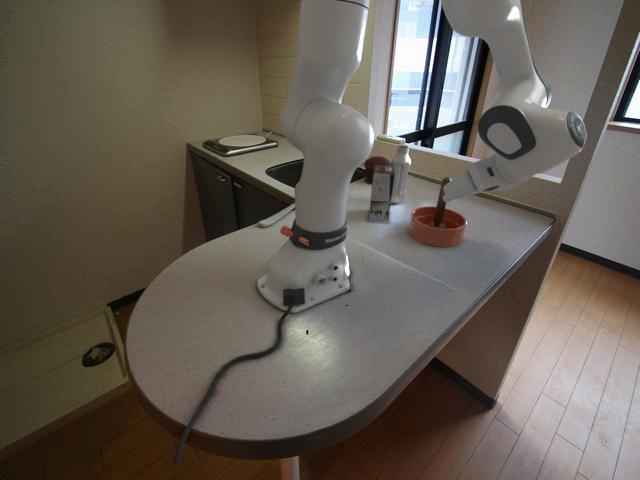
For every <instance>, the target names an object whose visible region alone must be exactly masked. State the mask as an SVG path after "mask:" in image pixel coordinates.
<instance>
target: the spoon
mask: <svg viewBox="0 0 640 480" xmlns="http://www.w3.org/2000/svg"><path fill="white" fill-rule="evenodd" d="M293 209H295V202H293V203H292V204H290V205H289V206H286V208H284V209H282V210H281V211H279V212H277V213H275V214H273V215H272V216H270V217H268V218H265V219H262V220H259V221H258V226H259V227H261V228H267V227H270V226H271V225H273V224H274V223H276V222H277V221H279V220H280V219H281V218H282V217H284V216H285V215H286V214H288V213H289V212H291V211H292V210H293Z"/></svg>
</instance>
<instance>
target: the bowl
mask: <svg viewBox="0 0 640 480" xmlns="http://www.w3.org/2000/svg"><path fill="white" fill-rule="evenodd" d="M435 211H436V206H432V205H430V206H429V205H428V206H427V205H426V206H420V207H417V208H415V209H413V210H412V211H411V213H410V219H409V223H408V234H409V235H410V236H411V238H413V239H414V240H416V241H417V242H419V243H422V244H424V245H428V246H431V247H438V248H449V247H450V248H451V247H455V246H458V245H459V244H460V243H462V241H463V238H464V235H465V232H466V228H467V224H468V220H467V218H466V217H465V216H464V215H463V214H462V213H460V212H457V211H456V210H453V209H450V208H447V207H445V212H444V216H443V220H442V223H443V224H444V225H445V227H444V229H440V228H434V227H430V226H429V223H430V222H432V221H433V220H434V215H435Z"/></svg>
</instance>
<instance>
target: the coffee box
mask: <svg viewBox="0 0 640 480" xmlns="http://www.w3.org/2000/svg"><path fill="white" fill-rule="evenodd" d="M394 177H395V166H390V165H375V167H374V174H373V182H372V183H371V191H370V203H369V212H368V213H369V214H368V221H373V222H374V221H375V222H383V223H384V222H385V223H389V217H390V211H391V204H392V203H391V199H392V192H393V184H394Z"/></svg>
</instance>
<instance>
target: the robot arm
mask: <svg viewBox="0 0 640 480" xmlns="http://www.w3.org/2000/svg"><path fill="white" fill-rule="evenodd" d="M370 1H371V0H300V11H299V23H298V24H299V25H298V37H297V38H298V40H297V51H296V52H297V53H296V60H295V65H294V70H293V74H292V79H291V82H290V83H291V84H290V88H289V91H288V96H287V100H286V103H285V105H284V106H283V108H282V110H281V112H280V118H279V123H280V128H281V131H282V133H283V135H284V137H285V138H286V140H287V141H288V143H289V144H290V145H291V146H292V147H293V148H295V149H296V150H298V151H300V153H301V154H302V158H303V166H302V171H301V176H300V179H299V181H297V183H296V185H295V187H294V203H295V208H294V213H295V214H294V215H295V217H294V220H293V223H292V226H291V228H290V227H289V226H287V225H282V227H281V228H280V231H279V232H280V234H281V235H283V236H285V237H287V238H288V239H287V240H286V241H285V242H284V244H283V245H282V246H281V247H280V248H279V249H278V251H276V253H275V254H274V255H273V256H272V257H271V258H270V259H269V261H268V262H267V263H268V264H267V267H266V272H265V274H263V275H262V276H261V277H259V278H258V279H257V282H256V283H257V284H256V285H257V290H258V292H259V293H260V295H261V296H262V297H263V298H264V299H265V300H266V301H268V302H269V303H270V304H271V305H273V306H274V307H276V308H277V309H280V310H282V311H285V312H283V314H282V315H281V316H280V318H279V321H278V324H277V340H276V342H275V343H274V344H273V345H272V346H271V347H269V348H268V349H265V350H263V351H259V352H254V353H253V352H252V353H248V354H244V355H240V356H237V357H234V358H233V359H231V360H230V361H228V362H227V363H226V364H224V365H223V366H222V367H221V368H220V370H219V371H218V372H217V374H216V375H215V377H214V379H213V380H212V382H211V384H210V387H209V388H208V389H207V392H206V394H205V396H204V398H203V399H202V401H201V403H200V404H199V406H198V407H197V409H196V411H195V412H194V413H193V415H192V417H191V418H190V420H189V421H188V424H187V425H186V426H185V429H184V431H183V432H182V434H181V436H180V439H179V442H178V444H177V447H176V449H175V452H174V456H173V460H172V465H173V466H176V465H177V464H178V463H179V461H180V458H181V454H182V451H183V448H184V446H185V443H186V441H187V438H188V436H189V435H190V432H191V430H192V428H193V426H194V425H195V423H196V421H197V419H198V418H199V416H200V415H201V413H202V411H203V410H204V408H205V406H206V405H207V404H208V402H209V400H210V398H211V396H212V395H213V392H214V390H215V389H216V386H217V384H218V382H219V380H220V378H221V376H222V375H223V374H224V373H225V371H227V370H228V369H229V368H230V367H231V366H232V365H234V364H236V363H239V362H241V361H244V360H249V359H253V358H260V357H264V356H267V355H269V354H271V353H273V352H274V351H276V349H278V348H279V346H280V345H281V343H282V340H283V333H282V332H283V331H282V327H283V322H284V320H285V319H286V318H287V317H288V316H289V314H290V313H293V314H296V313H299V312H302V311H303V310H306V309H309V308H311V307H313V306H315V305H318V304H320V303H323V302H325V301H327V300H329V299H332V298H334V297H337V296H338V295H341V294H343V293H346V292H348V291H350V290H351V282H350V280H349V276H350V268H349V267H350V265H349V260H348V259H349V258H348V255H347V249H346V238H347V234H348V222H347V221H348V220H347V219H346V216H347V204H348V203H347V202H348V191H349V187H350V184H351V181H352V178H353V175H354V173H355V171H356V170H357V169H358V168H360V166H362V165H364V164H365V162H366V161H367V160H368V159H369V156H370V155H371V153H372V150H373V148H374V141H375V134H374V128H373V126H372V124H371V122H370V121H369V120H368V118H367V117H365V116H364V115H363V114H362V113H361V112H359V111H358V110H357V109H355V108H354V107H352V106H351V105H348V104H346V103H342V101H343V97H344V94H345V92H346V88H347V86H348V84H349V81H350V79H351V78H352V76H353V75H354V74H355V73H356V72H357V70H358V69H359V67H360V65H361V62H362V59H363V51H364V44H365V36H366V31H367V24H368V23H367V22H368V15H369V10H370ZM440 2H441V6H442V9H443V12H444V15H445V17H446V20H447V22H448V23H449V24H450V27H451V29H452V31H453V32H455V33H456V34H458V35H460V36H462V37H467V38H479V39H481V40H483V41H485V43H486V44H487V45H488V48H489V50H490V54H491V56H492V59H493V63H494V66H495V69H496V73H497V75H498V79H499V80H498V82H499V84H498V88H497V92H496V95H495V96H494V98H493V99H492V101H491V102H490V103H489V105H488V106H487V108H486V109H485V110H484V112H483V114H482V115H481V116H480V118H479V120H478V123H477V132H478V133H477V134H478V136H479V138H480V140H481V141H482V142H483V143H484V144H485V145H486V146H487V147H489V148H490V149H491V150H492V151H494V152H493V153H491V154H490V155H488V156H486V157H485V158H482V159H480V160H477V161H475V162H472V163H470V164H469V165H468V166H467V170H465V171H463V172H461V173H459V174H458V175H457V176H456V177H454V178H453V179H451V181H450V182H449V183H447V184H446V185H445V186H444V188H443V190H444V193H445V195H444V196H443V200H444V202H447V203H448V202H451V201H454V200H458V199H462V198H465V197H469V196H475V195H477V194H481V193H484V192H490V191H492V192H493V191H495V192H496V191H500V192H508V191H510V190H511V189H513V188H515V187H517V186H520V185H521V184H524V183H525V182H527V181H529V180H530V179H531V178H533V176H536V175H539V174H543V173H546V172H548V171H550V170H552V169H554V168H555V167H558V166H560V165H561V164H563V163H565V162H566V161H568V160H570V159H571V158H573V157H575V156H576V155H577V154H579V153H580V152H581V151H582V150H583V148H584V146H585V144H586V140H587V130H586V126H585V124H584V123H585V122H584V121H583V119H582V118H581V116H580V115H579V114H577V112H575V111H573V110H556V109H552V108H548V106H549V105H550V102H551V99H552V94H553V93H552V86H551V84H550V82H549V80H548V79H547V78H546V76H545V75H544V74H543V73H542V71H540V69H539V68H538V66H537V63H536V61H535V58H534V54H533V49H532V46H531V42H530V37H529V33H528V29H527V26H526V21H525V18H524V15H523V10H522V3H521V0H440Z"/></svg>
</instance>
